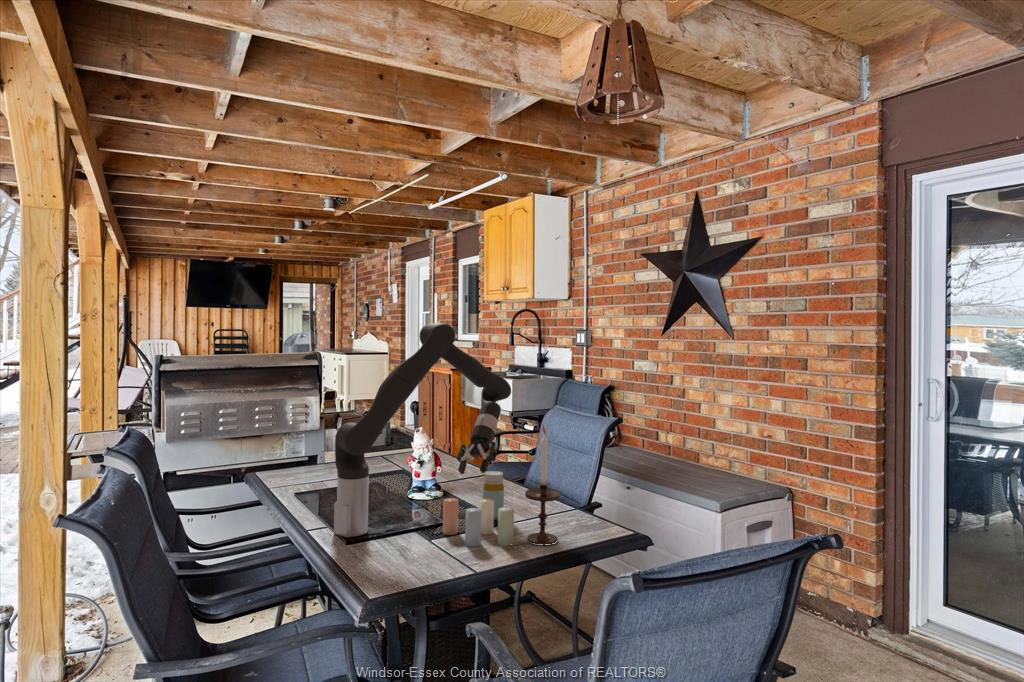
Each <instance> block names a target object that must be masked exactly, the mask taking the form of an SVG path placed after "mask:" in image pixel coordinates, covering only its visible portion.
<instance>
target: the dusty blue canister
mask: <svg viewBox="0 0 1024 682" xmlns="http://www.w3.org/2000/svg"><path fill="white" fill-rule="evenodd" d="M481 514H482V510H481V509H479V507H469V508H466V509H465V527H464V528H465V531H464V533H465V535H464V537H465V539H464V545H465V546H466V547H468V546H469V548H477V547H476V546H478V547H480V546H481V545H482V534H481Z"/></svg>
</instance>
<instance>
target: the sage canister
mask: <svg viewBox="0 0 1024 682" xmlns="http://www.w3.org/2000/svg"><path fill="white" fill-rule="evenodd" d="M514 521H515V509H514V508H511V507H504V508H500V509H498V520H497V545H498V544H499V545H498V546H500V545H502V546H501V547H509V546H508V545H511V544H513V545H514V530H515V529H514V528H515V525H514V524H515V522H514Z"/></svg>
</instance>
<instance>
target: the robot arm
mask: <svg viewBox="0 0 1024 682" xmlns="http://www.w3.org/2000/svg"><path fill="white" fill-rule="evenodd" d="M418 335H419V341H420V343H421V346H420V348H419V349H418V350H417V351H416V352H415V353H413V355H410V356H409V357H408V358H407V359H405V360H404V361H402V362H401V363H400V364H398V365H397V366H396V367H395V368H394V369H393V370H391V372H390V373H389V374H388V375H387V377H386V378H385V379H384V380H383V382H382V383H381V384H380V386H379V388H378V390H377V392H376V395H375V398H374V400H373V402H372V404H371V407H370V408H369V410H368V411H367V412H366V413H365V414H364V415H363V417H362V418H361V419H360V420H359V421H358V422H357V423H356V422H345V423H343V424H342V425H340V427H339V428H337V431H336V434H335V438H334V458H335V459H334V460H335V462H334V463H335V467H336V471H337V483H336V484H337V486H336V487H337V492H336V493H337V494H336V495H337V496H336V497H337V498H336V501H334V503H333V504H334V506H333V512H334V513H333V516H334V517H333V534H335V535H337V536H340V537H343V538H350V537H359V536H363V535H365V534H367V533H368V531H369V487H370V486H369V483H370V482H369V479H370V476H369V474H370V473H369V472H370V471H369V469H370V468H369V465H368V464H367V462H366V457H365V454H367V453H368V452H369V451H370V450H371V448H372V447H373V446H374V444H375V442H376V441H377V439H378V438H379V436H380V435H381V433H382V432H383V430H384V429H385V427H386V426H387V424H388V423H389V421H390V420H391V419H392V418H393V416H394V415H395V414H396V413H397V412H398V410H400V408H401V407H402V405H404V403H405V402H406V401H407V399H408V398H409V397H410V396H411V395H412V394H413V392H414V391H415V389H416V388H417V386H418V385H419V384H420V383H421V382H422V381H423V379H424V378H425V377H426V375H427V374H428V373H429V371H430V370H431V369H432V368H433V367H434V366H435V364H436V363H438V361H439V360H441V358H442V359H443V361H445V362H447V363H449V364H450V365H451V366H452V367H453V368H455V369H456V370H457V371H458V372H459V373H461V374H462V375H463V376H464V377H465V378H466V379H468V380H469V382H471V384H473V385H474V386H475V387H477V388H482V389H481V398H480V401H481V405H480V406H481V407H480V409H479V413H478V416H477V418H476V420H475V423H474V426H473V429H472V432H471V434H470V435H471V436H470V443H469V444H468V445H465V444H461V446H460V448H459V451H458V454H457V456H456V460H457V461H458V462H459V466H458V468H457V470H458V473H459V474H461V475H464V474H465V471H466V469H467V464H468V463H469V462H470V461H473V460H474V459H475V458H480V459H481V458H483V459H482V461H481V464H480V468H479V471H480V472H481V473H482V474H485V472H487V470H488V467H489V464H490V463H491V462H495V461H496V459H497V454H498V450H499V444H497V443H496V441H494V438H495V436H496V432H497V427H498V422H499V418H500V416H501V412H502V408H501V406H500V404H498V403H497V402H500V401H503V400H507V399H508V398H509V397H510V395H512V387H511V385H510V383H509V381H507V380H506V379H505V378H504V377H502V376H500V375H498V374H496V373H494V372H492V371H490V370H489V369H488V368H487V367H486V366H484V365H483V363H481V362H480V361H479V360H478V359H477V358H475V357H473V356H472V355H470V354H468V353H467V352H465V351H463V350H462V349H460V348H459V347H458V346H456V344H454V343H455V341H456V332H455V329H454V327H452V325H450V324H447V323H443V322H440V323H439V322H432V323H427V324H425V325H424V326H422V328H421V329H420V331H419V334H418ZM488 452H489V453H488Z"/></svg>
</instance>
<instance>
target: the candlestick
mask: <svg viewBox="0 0 1024 682" xmlns="http://www.w3.org/2000/svg"><path fill="white" fill-rule="evenodd" d="M541 425H542V432H543V436H542V438H541V439H540V440H541V442H540V443H541V444H540V451H541V452H540V482H537V483H536V485H537V486H539V487H537V488H536V487H535V488H530V489H527V490H525V493H524V496H525V498H526V499H529V500H532V501H537V502H540V513H539V514H537V517H538V519H539V522H538V526H539V528H540V529H539V532H536V533H535V532H534V533H530V534H528V535H527V537H526V540H528V541H529V542H531V543H535V544H543V545H545V544H552V543H555V542H556V541H557V542H558V537H557V535H556V534H552V533H548V532H546V527H547V525H548V523H547V522H546V520H547V518H548V514H547V513H546V503H547V502H554V501H558V500H561V499H562V496H563V495H562V492H561V491H560V490H557V489H553V488H548V486H550V485H551V483H549V482H548V449H549V448H548V447H549V446H548V441H549V439H548V438H547V436H546V434H547V431H546V429H545V426H544V424H541ZM549 537H550V538H549ZM528 541H527V542H528ZM529 542H528V543H529Z"/></svg>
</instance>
